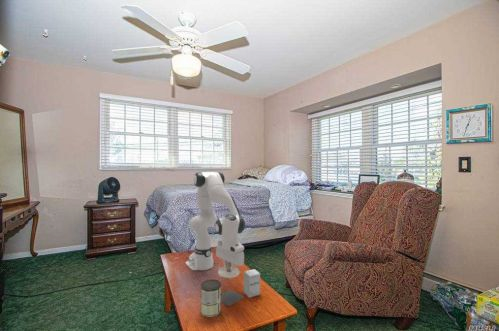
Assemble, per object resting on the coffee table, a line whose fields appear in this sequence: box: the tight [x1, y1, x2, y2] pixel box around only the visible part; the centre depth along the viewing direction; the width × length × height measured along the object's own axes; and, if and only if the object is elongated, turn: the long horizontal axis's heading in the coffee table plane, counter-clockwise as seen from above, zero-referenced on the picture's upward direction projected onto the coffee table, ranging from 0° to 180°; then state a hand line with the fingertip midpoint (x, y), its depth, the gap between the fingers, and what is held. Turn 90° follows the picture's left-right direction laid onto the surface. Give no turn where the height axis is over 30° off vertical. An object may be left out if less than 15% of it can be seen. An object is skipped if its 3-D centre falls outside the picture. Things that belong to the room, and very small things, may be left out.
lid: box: [217, 261, 241, 279], centre depth 136 cm, size 12×12×6 cm
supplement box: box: [243, 268, 261, 298], centre depth 140 cm, size 7×7×13 cm
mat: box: [221, 289, 245, 307], centre depth 135 cm, size 12×12×1 cm
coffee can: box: [200, 279, 222, 318], centre depth 123 cm, size 10×10×14 cm
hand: (229, 268), depth 136 cm, fingers closed on lid, 3 cm apart
